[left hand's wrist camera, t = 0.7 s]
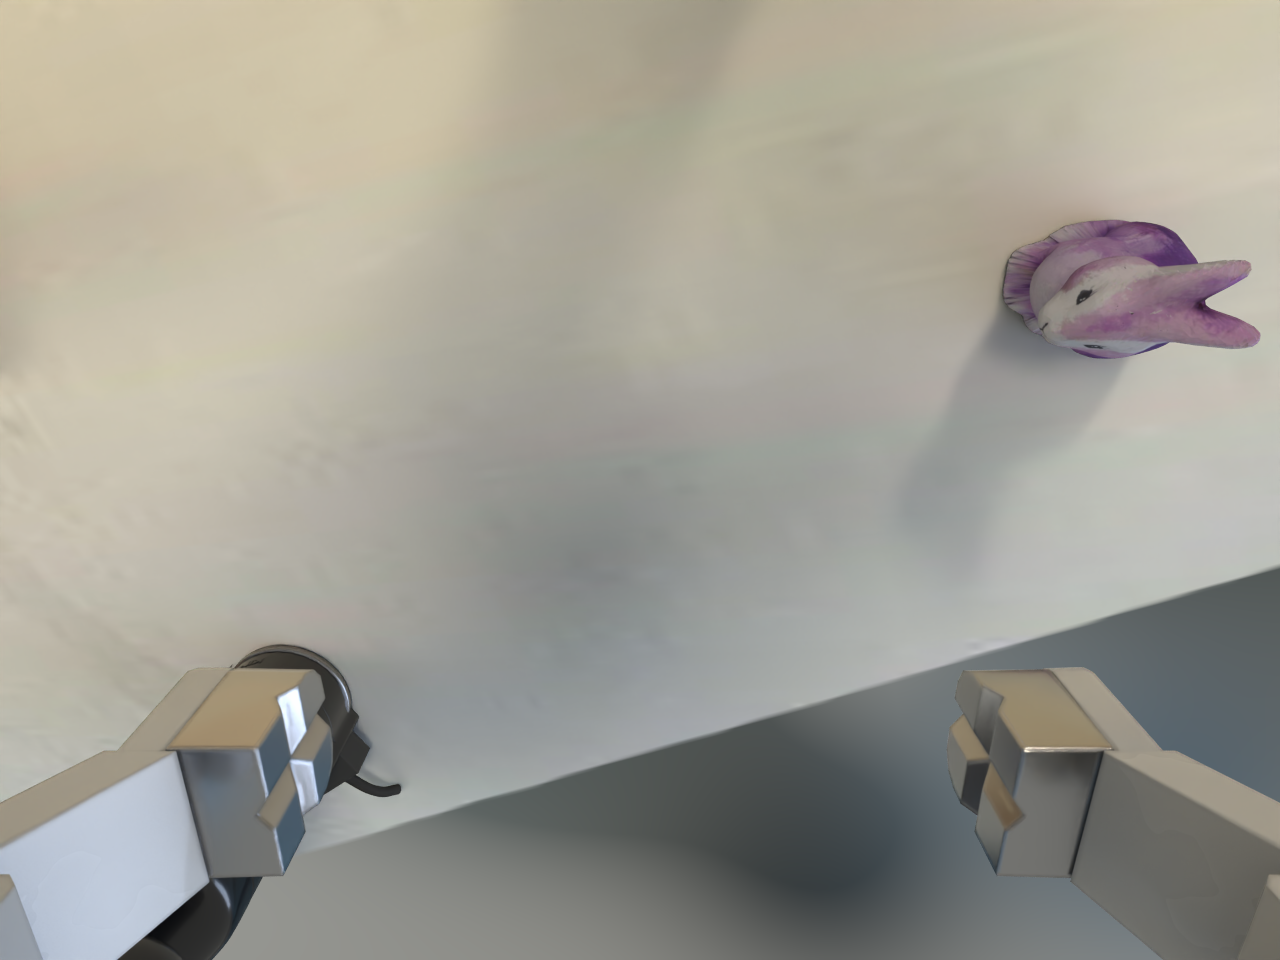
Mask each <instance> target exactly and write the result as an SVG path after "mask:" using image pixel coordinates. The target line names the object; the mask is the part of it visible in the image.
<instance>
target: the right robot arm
mask: <svg viewBox="0 0 1280 960" xmlns="http://www.w3.org/2000/svg"><path fill="white" fill-rule="evenodd" d="M231 667H232V665H231ZM231 667H230V668H231ZM237 668H263V669H311V670H315V671H316V672H317V673H318V674H319V675H320V676H321V680H322V684H323V689H324V694H325V700H324V701H323V703H322V705H321V707H320V708H319V710H318V712H317V714H318V715H319V716H320V717H321V718H322V719H323V720H324V721H325V722H326V723H327V724H328V725H329V726H330V728H331V734H332V741H333V764H332V768H331V773H330V777H329V782H328V786H327V788H326V790H325V792H324V794H326V793H327V792H329V791H331V790H332V789H334V788H335V787H337V786H339V785H340V784H342V783H343V782H347V783H348V784H350V785H352V786H353V787H355V788H357V789H359V790H361V791H363V792H365V793H367V794H370V795H373V796H378V797H388V796H392V795H397V794H399V793H400V792H401V786H400V785H399V784H396V785H391V786H386V787H380V786H376V785H373V784H371V783H368V782H366V781H365V780H363V779H361V778H360V777H358V776H356V774H358V773H359V771H360V768H361V766H362V764H363V762H364V760H365V758H366V755H367V753H368V751H369V749H370V748H369V747H368V746H367V745H366V744H365V743H364V742H363V741H362V740H361V739H360V738H359V737H358V736H357V735H356V734H355V733H354V732H353V731H352V730H353V728H354V726H355V724H356V722H357V720H358V718H359V716H358V715H357V714H356V713H355V712H354V711H353V709H352V708H351V696H350V692H349V689H348V686H347V684H346V682H345V680H344V678H343V677H342V675H341V674H340V673H339V672H338V670H337V669H336V668H335V667H334V666H333V665H332V664H330V663H329V662H328V661H327V660H325V659H324V658H322V657H321V656H319V655H317V654H315V653H313V652H311V651H308V650H305V649H302V648H298V647H293V646H284V645H278V646H269V647H264V648H261V649H258V650H256V651H253V652H251V653H250V654H248V655H247V656H245V657H244V658H243V659H242V660H241V661H240V662H239V663H238V664H237V665H236V667H235V668H234V669H237ZM262 877H263V876H262ZM262 877H227V878H209V883H208V884H206V885H205V886H204V887H203V888H202V889H201V890H199V891H198V892H197V893H196V894H195V895H193V896H192V897H191V898H190V899H189V900H187V901H186V902H185V903H184V904H183V905H181V906H180V907H179V908H178V909H177V910H176V911H174V912H173V913H172V914H171V915H170V916H168V917H167V918H166V919H165V920H164V921H162V922H161V923H160V924H159V925H158V926H156V927H155V928H154V929H153V930H152V931H151V932H149V933H148V934H147V935H146V936H145V937H143V938H142V939H141V940H140V941H139V942H137V943H136V944H135V945H134V946H133V947H131V948H130V949H129V950H128V951H127V952H126V953H124V954H123V955H122V956H121V957H120V958H118V959H117V960H212V959H213V958H214V957H215V956H216V955H217V954H218V952H219V951H220V950H221V949H222V948H223V947H224V945H225V944H226V943H227V941H228V940H229V939H230V937H231V935H232V934H233V932H234V930H235V929H236V927H237V925H238V923H239V921H240V920H241V918H242V916H243V914H244V912H245V910H246V908H247V906H248V904H249V902H250V900H251V898H252V896H253V894H254V892H255V890H256V888H257V887H258V885H259V883H260V881H261V879H262Z"/></svg>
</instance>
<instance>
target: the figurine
mask: <svg viewBox="0 0 1280 960" xmlns="http://www.w3.org/2000/svg"><path fill="white" fill-rule="evenodd" d="M1007 270H1008V271H1007V272H1006V274H1007V275H1006V276H1005V278H1006V279H1005V284H1004V288H1003V291H1004V294H1003V296H1004V301H1005V303H1006V304H1007V305H1008V307H1009V308H1011V309H1012V310H1014V311H1016V312H1018V313H1019V314H1021V315H1022V316H1023V318H1024V323H1025V325H1026V326H1027V327H1028V328H1029V329H1030V330H1031V331H1032V332H1034V333H1036V334H1039V335H1043V337H1044V339H1045V340H1046V341H1047V342H1049V343H1051V344H1054V345H1057V346H1060V347H1068V348H1071V349H1073V350H1074V351H1075V352H1077V353H1080V354H1082V355H1085V356H1088V357H1092V358H1121V357H1127V356H1131V355H1136V354H1140V353H1143V352H1147V351H1150V350H1153V349H1156V348H1159V347H1161V346H1163V345H1166V344H1167V343H1169V342H1177V343H1183V344H1190V345H1198V346H1207V347H1217V348H1227V349H1240V348H1248V347H1252V346H1254V345H1256V344H1257V343H1258V341H1259V340H1260V332H1259V331H1258V330H1257V329H1256V328H1255V327H1254V326H1252V325H1250V324H1248V323H1246V322H1244V321H1242V320H1240V319H1238V318H1236V317H1233V316H1230V315H1227V314H1224V313H1221V312H1218V311H1215V310H1213V309H1210V308H1209V307H1208V306H1206V304H1205V300H1206V299H1207V298H1209V297H1210V296H1212V295H1214V294H1216V293H1218V292H1220V291H1222V290H1224V289H1226V288H1228V287H1230V286H1232V285H1233V284H1235V283H1237V282H1239V281H1240V280H1242V279H1244V278H1245V277H1247V276H1248V274H1249V273H1250V271H1251V264H1250V263H1249V262H1247V261H1245V260H1244V261H1242V260H1237V261H1235V260H1230V261H1227V260H1223V261H1215V262H1207V263H1199V264H1198V262H1197V260H1196V258H1195V257H1194V256H1193V254H1192V253H1191V252H1190V250H1189V249H1188V248H1187V246H1186V245H1185V244H1184V242H1183V241H1182V240H1181V239H1180V237H1179V236H1178V235H1177V234H1176V233H1175V232H1173V231H1171V230H1170V229H1168V228H1166V227H1164V226H1161V225H1157V224H1152V223H1146V222H1127V221H1121V220H1105V221H1089V222H1082V223H1077V224H1072V225H1069V226H1064V227H1063V228H1061V229H1059V230H1058V231H1056V232H1054V233H1053V234H1051V235H1049V237H1048V238H1046V239H1045V240H1044V241H1039V242H1036V243H1033V244H1029V245H1026V246H1023V247H1021V248H1019V249H1018V250H1016V251H1015V252H1014V253H1013V254H1012V256H1011V258H1010V259H1009V263H1008V267H1007Z"/></svg>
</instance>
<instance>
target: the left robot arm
mask: <svg viewBox="0 0 1280 960" xmlns="http://www.w3.org/2000/svg"><path fill="white" fill-rule="evenodd" d="M324 700H325V694H324V689H323V684H322V680H321V676H320V675H319V674H318V673H317V672H316V671H315V670H311V669H263V668H237V669H234V668H197V669H193V670H190V671H188V672H187V673H186V674H185V675H184V676H183V677H182V678H181V679H180V681H179V682H178V683H177V684H176V685H175V686H174V687H173V688H172V690H171V691H170V692H169V693H168V694H167V695H166V696H165V697H164V699H163V700H162V701H161V702H160V703H159V704H158V705H157V706H156V708H155V709H154V710H153V711H152V712H151V713H150V714H149V715H148V717H147V718H146V719H145V720H144V721H143V722H142V723H141V724H140V726H139V727H138V728H137V729H136V730H135V731H134V732H133V733H132V735H131V736H130V737H129V738H128V739H127V740H126V741H125V742H124V744H123V745H122V746H121V747H120V748H119V749H118V750H117V751H103V752H101V753H99V754H97V755H95V756H93V757H91V758H89V759H87V760H85V761H83V762H81V763H79V764H77V765H75V766H73V767H71V768H69V769H67V770H65V771H63V772H61V773H59V774H57V775H55V776H53V777H51V778H49V779H47V780H45V781H43V782H41V783H39V784H37V785H35V786H33V787H31V788H29V789H27V790H25V791H23V792H21V793H19V794H17V795H15V796H13V797H11V798H9V799H7V800H5V801H3V802H1V803H0V960H117V959H118V958H120V957H121V956H122V955H123V954H124V953H126V952H127V951H128V950H129V949H130V948H131V947H133V946H134V945H135V944H136V943H137V942H139V941H140V940H141V939H142V938H143V937H145V936H146V935H147V934H148V933H149V932H151V931H152V930H153V929H154V928H155V927H156V926H158V925H159V924H160V923H161V922H162V921H164V920H165V919H166V918H167V917H168V916H170V915H171V914H172V913H173V912H174V911H176V910H177V909H178V908H179V907H180V906H181V905H183V904H184V903H185V902H186V901H187V900H189V899H190V898H191V897H192V896H193V895H195V894H196V893H197V892H198V891H199V890H201V889H202V888H203V887H204V886H205V885H206V884H208V883H209V878H227V877H262V876H283V875H284V873H285V871H286V869H287V867H288V865H289V863H290V861H291V859H292V857H293V855H294V853H295V851H296V849H297V847H298V845H299V843H300V841H301V839H302V837H303V835H304V834H305V826H304V821H303V815H304V814H305V813H307V812H308V811H310V810H311V809H312V808H314V807H315V806H317V805H318V804H319V803H320V801H321V799H322V797H323V795H324V792H325V790H326V788H327V786H328V782H329V777H330V773H331V768H332V764H333V741H332V734H331V728H330V726H329V725H328V724H327V723H326V722H325V721H324V720H323V719H322V718H321V717H320V716H319V715H318V714H317V712H318V710H319V708H320V707H321V705H322V703H323V701H324ZM955 700H956V701H957V703H958V705H959V707H960V708H961V710H962V712H963V714H962V715H961V716H960V717H959V718H958V719H957V720H956V721H955V722H954V723H953V724H952V725H951V726H950V728H949V736H948V743H947V759H948V771H949V775H950V778H951V781H952V785H953V788H954V791H955V793H956V795H957V797H958V799H959V801H960V803H961V804H962V805H963V806H965V807H966V808H968V809H969V810H970V811H972V812H973V813H975V814H976V815H977V821H976V826H975V834H976V835H977V837H978V839H979V841H980V843H981V845H982V847H983V849H984V851H985V853H986V855H987V857H988V859H989V861H990V863H991V865H992V867H993V869H994V871H995V873H996V875H997V876H1016V877H1053V878H1071V882H1072V883H1073V884H1074V885H1075V886H1076V887H1078V888H1079V889H1080V890H1081V891H1082V892H1083V893H1085V894H1086V895H1087V896H1088V897H1089V898H1091V899H1092V900H1093V901H1094V902H1095V903H1096V904H1098V905H1099V906H1100V907H1101V908H1102V909H1104V910H1105V911H1106V912H1107V913H1108V914H1110V915H1111V916H1112V917H1113V918H1114V919H1115V920H1117V921H1118V922H1119V923H1120V924H1122V925H1123V926H1124V927H1125V928H1126V929H1127V930H1129V931H1130V932H1131V933H1132V934H1133V935H1135V936H1136V937H1137V938H1138V939H1139V940H1140V941H1142V942H1143V943H1144V944H1145V945H1146V946H1148V947H1149V948H1150V949H1151V950H1152V951H1153V952H1155V953H1156V954H1157V955H1158V956H1159V957H1161V958H1162V959H1163V960H1280V803H1279V802H1277V801H1275V800H1273V799H1271V798H1269V797H1267V796H1265V795H1263V794H1261V793H1259V792H1257V791H1255V790H1253V789H1251V788H1249V787H1247V786H1245V785H1243V784H1241V783H1239V782H1237V781H1235V780H1233V779H1231V778H1229V777H1227V776H1225V775H1223V774H1221V773H1219V772H1217V771H1215V770H1213V769H1211V768H1209V767H1207V766H1205V765H1203V764H1201V763H1199V762H1197V761H1195V760H1193V759H1191V758H1189V757H1187V756H1185V755H1183V754H1181V753H1179V752H1177V751H1163V750H1162V749H1161V748H1160V747H1159V746H1158V745H1157V744H1156V742H1155V741H1154V740H1153V739H1152V738H1151V737H1150V736H1149V735H1148V733H1147V732H1146V731H1145V730H1144V729H1143V728H1142V727H1141V726H1140V725H1139V723H1138V722H1137V721H1136V720H1135V719H1134V718H1133V717H1132V716H1131V714H1130V713H1129V712H1128V711H1127V710H1126V709H1125V708H1124V706H1123V705H1122V704H1121V703H1120V702H1119V701H1118V700H1117V699H1116V697H1115V696H1114V695H1113V694H1112V693H1111V692H1110V691H1109V690H1108V688H1107V687H1106V686H1105V685H1104V684H1103V683H1102V682H1101V681H1100V679H1099V678H1098V677H1097V676H1096V675H1095V674H1094V673H1093V672H1092V671H1090V670H1088V669H1085V668H1083V667H1076V668H1045V669H1037V670H973V671H972V670H971V671H963V672H962V674H961V676H960V678H959V680H958V682H957V688H956V693H955Z"/></svg>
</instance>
